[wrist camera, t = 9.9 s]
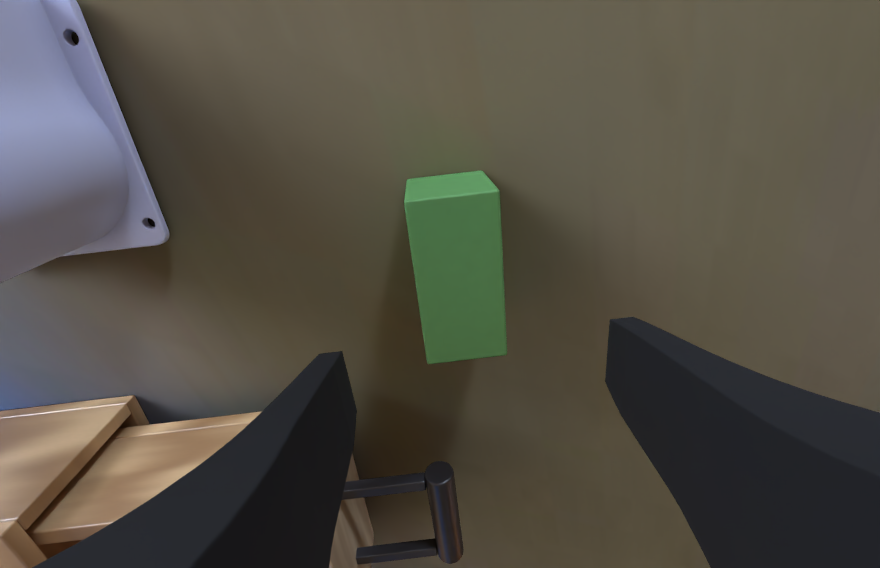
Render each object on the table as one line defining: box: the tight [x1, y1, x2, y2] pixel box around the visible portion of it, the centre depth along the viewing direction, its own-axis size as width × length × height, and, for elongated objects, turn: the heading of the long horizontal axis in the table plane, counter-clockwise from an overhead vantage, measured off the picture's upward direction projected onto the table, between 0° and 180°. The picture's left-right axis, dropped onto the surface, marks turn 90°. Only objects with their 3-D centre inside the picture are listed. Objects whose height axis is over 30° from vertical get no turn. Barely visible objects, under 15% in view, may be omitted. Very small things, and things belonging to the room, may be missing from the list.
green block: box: [404, 171, 507, 364], centre depth 18 cm, size 7×3×4 cm, turn 6°
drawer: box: [25, 411, 464, 568], centre depth 21 cm, size 20×12×6 cm, turn 96°
